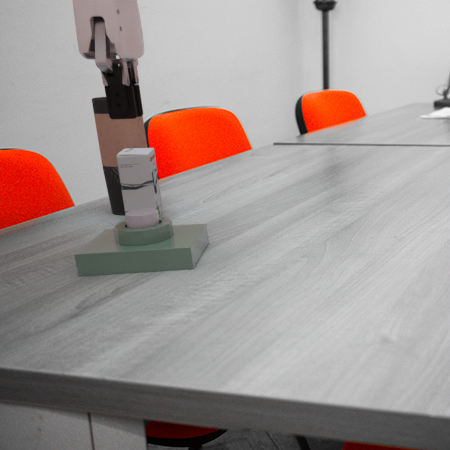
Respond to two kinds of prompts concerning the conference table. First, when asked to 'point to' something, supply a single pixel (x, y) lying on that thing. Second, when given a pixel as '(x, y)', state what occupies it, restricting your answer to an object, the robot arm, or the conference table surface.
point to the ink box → (139, 179)
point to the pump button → (142, 218)
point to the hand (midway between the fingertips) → (126, 116)
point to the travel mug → (115, 147)
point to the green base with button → (143, 249)
